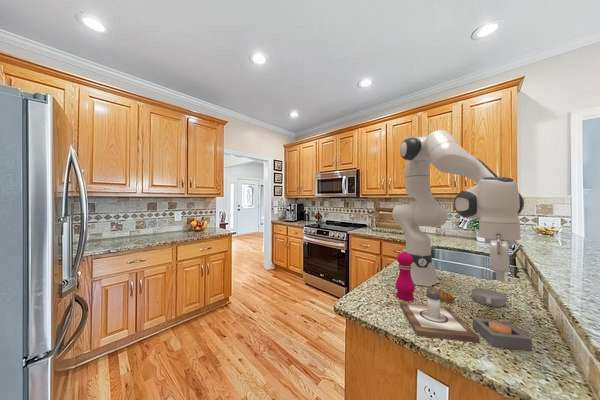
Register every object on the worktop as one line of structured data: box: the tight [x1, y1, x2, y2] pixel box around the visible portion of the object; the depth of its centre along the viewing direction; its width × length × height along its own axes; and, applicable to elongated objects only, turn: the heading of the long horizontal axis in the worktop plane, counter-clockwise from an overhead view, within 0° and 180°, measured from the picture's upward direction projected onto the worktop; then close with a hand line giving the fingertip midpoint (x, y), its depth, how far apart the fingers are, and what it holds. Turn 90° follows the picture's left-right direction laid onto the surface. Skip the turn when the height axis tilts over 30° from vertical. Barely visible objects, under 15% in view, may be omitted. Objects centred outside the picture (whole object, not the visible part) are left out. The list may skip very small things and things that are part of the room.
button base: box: [472, 317, 533, 352], centre depth 62 cm, size 9×9×3 cm
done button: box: [489, 322, 512, 334], centre depth 62 cm, size 5×5×2 cm
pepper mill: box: [395, 248, 416, 302], centre depth 89 cm, size 7×7×20 cm
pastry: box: [426, 286, 455, 304], centre depth 88 cm, size 9×7×4 cm
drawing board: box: [399, 301, 481, 344], centre depth 71 cm, size 19×16×2 cm
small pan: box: [471, 287, 508, 308], centre depth 83 cm, size 11×18×4 cm, turn 139°
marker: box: [426, 288, 441, 319], centre depth 71 cm, size 4×4×8 cm
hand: (500, 279), depth 63 cm, fingers closed
